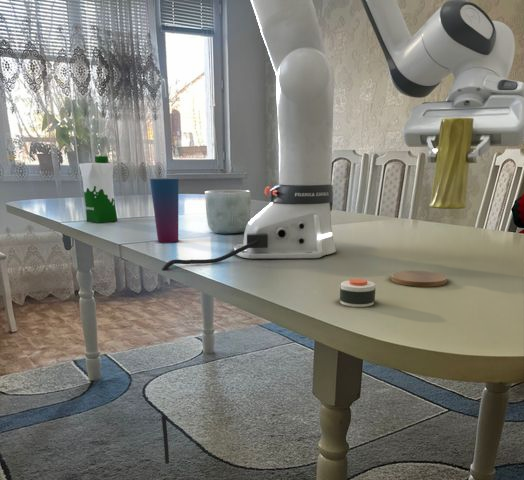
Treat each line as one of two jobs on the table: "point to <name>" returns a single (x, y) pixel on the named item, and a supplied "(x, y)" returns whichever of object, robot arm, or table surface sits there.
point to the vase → (452, 164)
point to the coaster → (419, 278)
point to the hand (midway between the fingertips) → (451, 160)
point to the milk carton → (99, 190)
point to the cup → (165, 208)
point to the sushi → (357, 293)
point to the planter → (228, 210)
